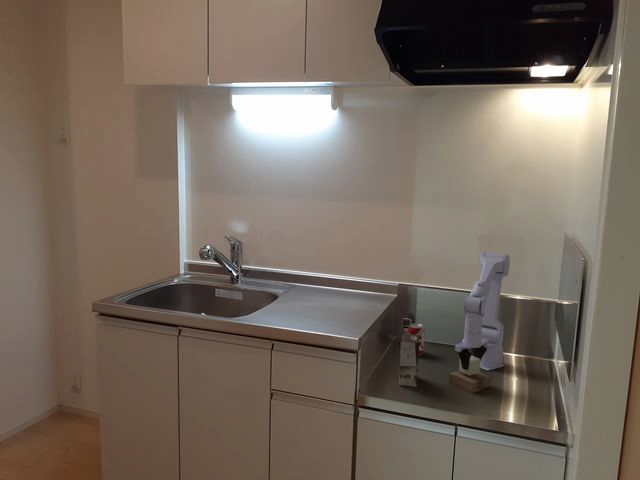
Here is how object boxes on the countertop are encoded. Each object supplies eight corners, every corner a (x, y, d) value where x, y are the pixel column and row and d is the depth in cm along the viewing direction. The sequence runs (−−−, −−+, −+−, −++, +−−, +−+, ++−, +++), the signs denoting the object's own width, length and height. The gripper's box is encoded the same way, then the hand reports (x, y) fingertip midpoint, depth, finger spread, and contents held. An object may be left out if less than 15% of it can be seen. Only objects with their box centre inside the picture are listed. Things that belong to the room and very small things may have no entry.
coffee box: (417, 387, 184) (419, 342, 181) (398, 385, 185) (400, 341, 183) (417, 376, 193) (419, 334, 190) (399, 374, 194) (401, 332, 191)
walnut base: (466, 377, 194) (467, 367, 193) (489, 387, 186) (490, 376, 185) (448, 383, 188) (449, 373, 187) (471, 394, 180) (472, 383, 179)
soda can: (406, 356, 212) (408, 327, 211) (406, 350, 219) (408, 322, 217) (423, 357, 211) (425, 328, 209) (423, 351, 218) (424, 323, 216)
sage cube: (468, 367, 190) (469, 354, 189) (479, 372, 186) (480, 359, 185) (458, 370, 187) (459, 357, 186) (469, 375, 183) (470, 361, 182)
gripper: (478, 324, 191) (476, 359, 193) (449, 330, 183) (447, 367, 185) (494, 329, 185) (491, 366, 187) (464, 336, 177) (462, 374, 179)
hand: (470, 367), depth 186 cm, fingers closed on sage cube, 5 cm apart
